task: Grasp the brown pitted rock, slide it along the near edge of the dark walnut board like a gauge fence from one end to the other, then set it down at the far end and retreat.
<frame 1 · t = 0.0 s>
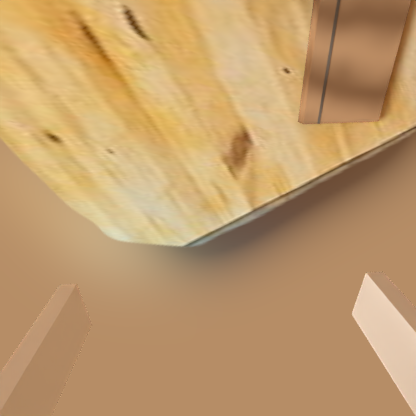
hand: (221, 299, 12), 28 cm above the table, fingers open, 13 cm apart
board: (354, 13, 30), on the table
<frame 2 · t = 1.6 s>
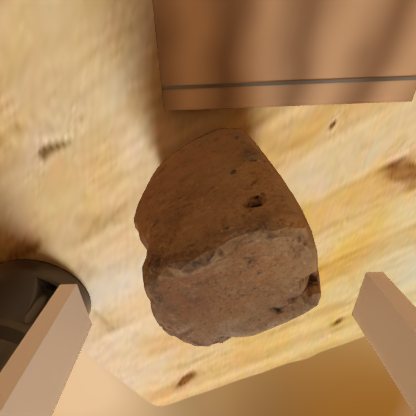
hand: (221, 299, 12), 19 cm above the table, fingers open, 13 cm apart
brown pitted rock: (207, 166, 29), on the table
board: (288, 46, 24), on the table
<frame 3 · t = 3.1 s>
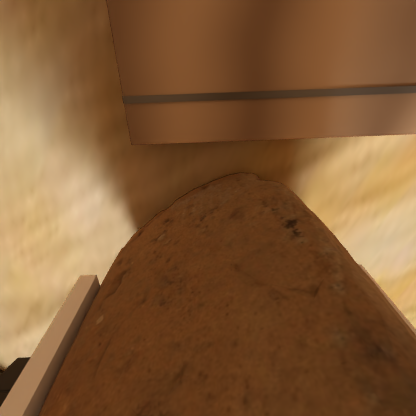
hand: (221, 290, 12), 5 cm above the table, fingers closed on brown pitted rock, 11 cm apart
brown pitted rock: (214, 229, 17), on the table, touching gripper
board: (382, 16, 12), on the table
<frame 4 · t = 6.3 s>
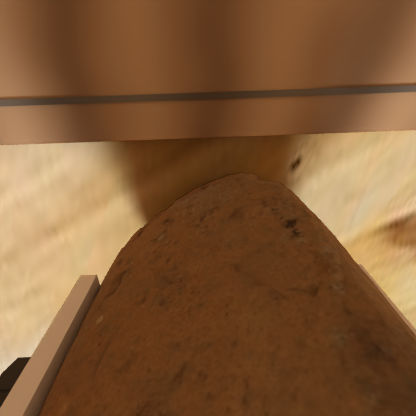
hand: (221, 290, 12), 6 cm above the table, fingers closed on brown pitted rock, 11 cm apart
brown pitted rock: (214, 229, 17), point 1 cm above the table, touching gripper
board: (202, 27, 13), on the table
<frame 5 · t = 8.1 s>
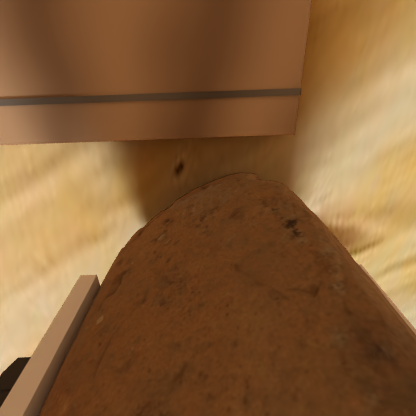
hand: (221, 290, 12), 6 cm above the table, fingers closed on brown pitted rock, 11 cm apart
brown pitted rock: (214, 229, 17), point 1 cm above the table, touching gripper
board: (50, 30, 12), on the table
when the fingers open (5 cm above the table, at t = 9.4 s): brown pitted rock stays where it is, on the table.
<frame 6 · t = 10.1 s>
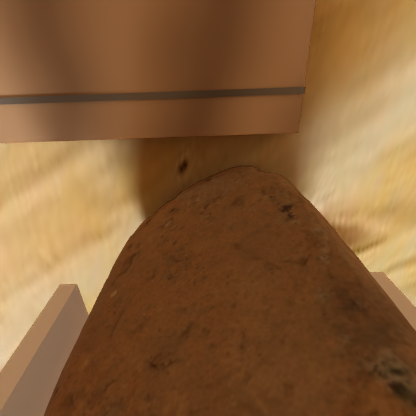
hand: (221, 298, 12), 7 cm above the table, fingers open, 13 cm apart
brown pitted rock: (217, 221, 18), on the table
board: (57, 30, 13), on the table
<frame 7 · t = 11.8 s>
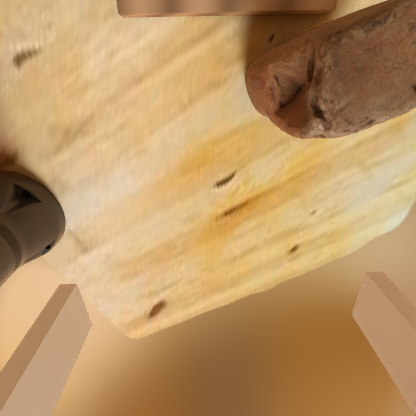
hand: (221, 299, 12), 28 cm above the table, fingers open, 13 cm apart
brown pitted rock: (284, 76, 33), on the table
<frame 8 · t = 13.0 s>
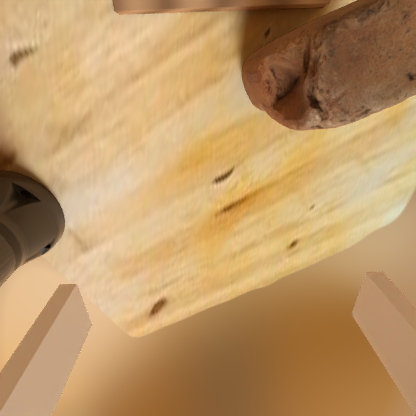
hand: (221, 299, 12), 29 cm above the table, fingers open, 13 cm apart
brown pitted rock: (280, 71, 33), on the table
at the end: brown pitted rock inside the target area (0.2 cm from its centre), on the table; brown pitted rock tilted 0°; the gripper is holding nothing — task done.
